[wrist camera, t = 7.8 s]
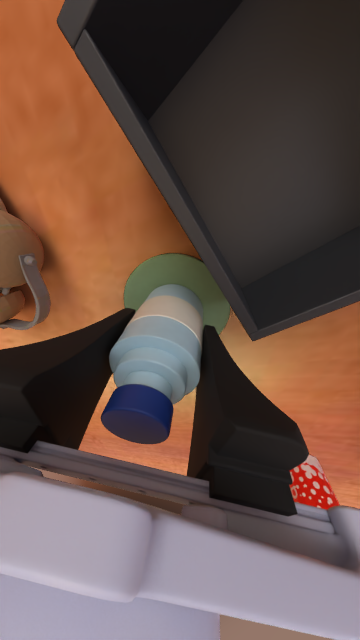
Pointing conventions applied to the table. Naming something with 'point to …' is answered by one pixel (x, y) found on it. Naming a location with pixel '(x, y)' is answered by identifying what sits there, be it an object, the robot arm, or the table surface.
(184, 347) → the bottle
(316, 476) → the beverage cup
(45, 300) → the alarm clock
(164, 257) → the coaster
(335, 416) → the table surface
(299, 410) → the table surface
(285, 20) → the bin
